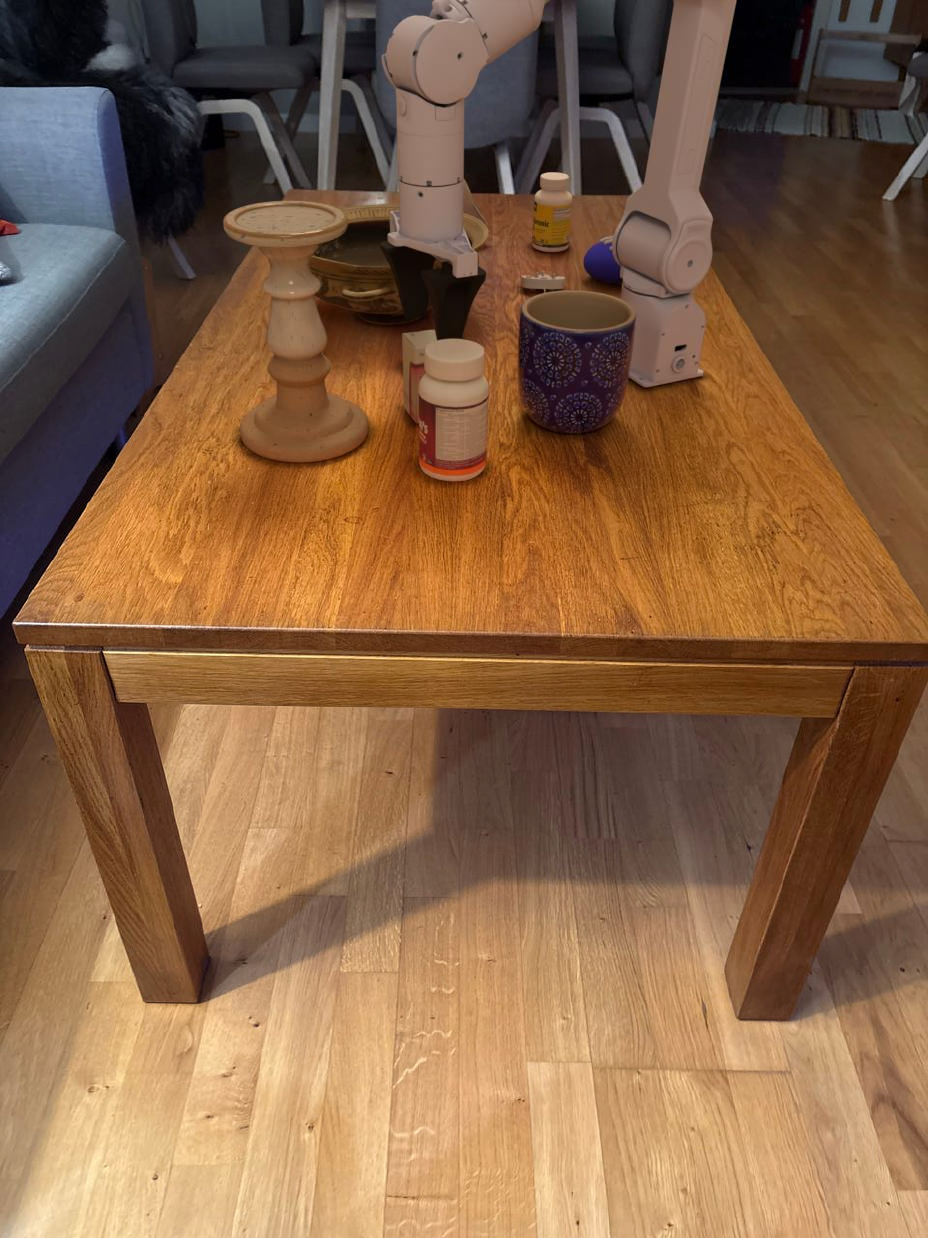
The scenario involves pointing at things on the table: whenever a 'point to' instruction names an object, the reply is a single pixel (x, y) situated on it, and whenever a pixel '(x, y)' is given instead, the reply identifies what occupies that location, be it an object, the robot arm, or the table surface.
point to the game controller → (542, 281)
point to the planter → (574, 358)
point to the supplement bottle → (552, 213)
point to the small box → (414, 368)
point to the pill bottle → (453, 410)
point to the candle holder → (296, 337)
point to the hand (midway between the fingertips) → (432, 329)
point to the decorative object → (602, 262)
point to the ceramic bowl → (370, 264)
